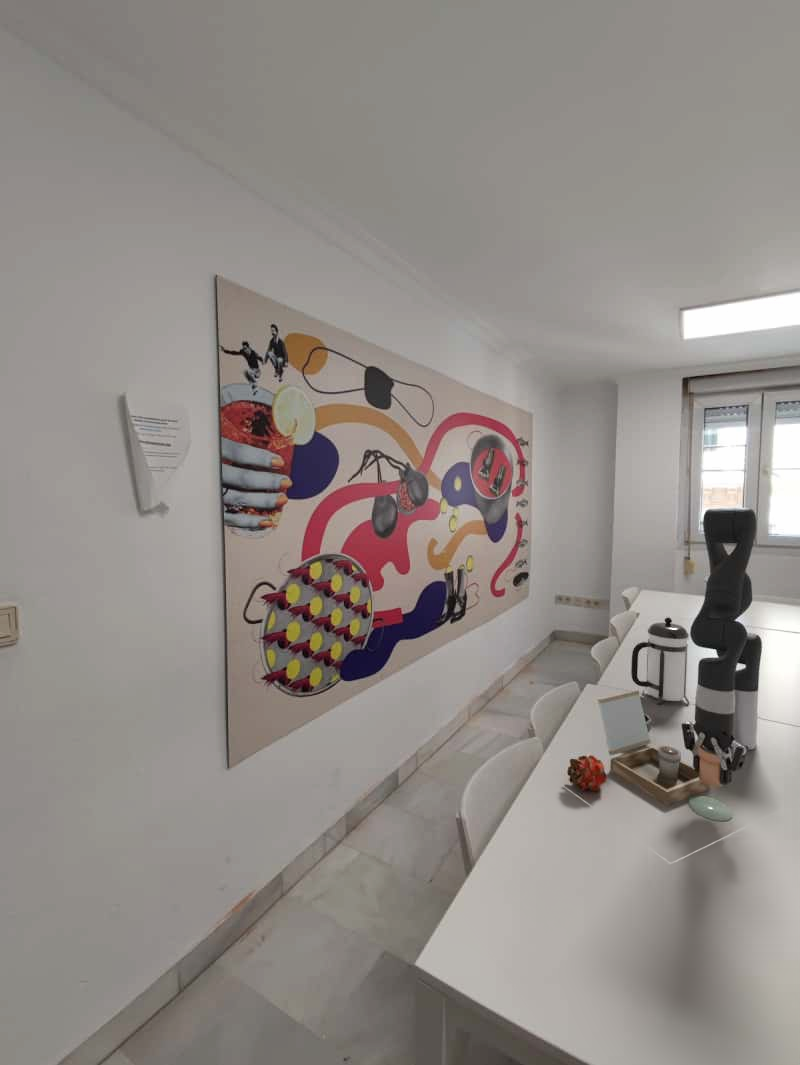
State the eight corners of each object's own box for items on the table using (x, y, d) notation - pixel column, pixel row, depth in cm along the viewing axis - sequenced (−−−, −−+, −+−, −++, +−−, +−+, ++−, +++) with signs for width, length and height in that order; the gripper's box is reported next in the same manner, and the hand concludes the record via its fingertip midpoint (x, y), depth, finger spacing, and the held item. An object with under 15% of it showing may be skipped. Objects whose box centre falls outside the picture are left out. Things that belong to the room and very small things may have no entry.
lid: (650, 742, 132) (648, 742, 133) (638, 690, 135) (636, 690, 136) (611, 755, 126) (609, 754, 126) (600, 699, 129) (597, 699, 130)
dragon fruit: (570, 802, 115) (593, 789, 124) (600, 794, 111) (622, 781, 119) (554, 765, 119) (577, 755, 128) (582, 755, 115) (604, 746, 123)
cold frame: (630, 747, 139) (632, 705, 138) (709, 789, 118) (711, 741, 118) (590, 759, 132) (591, 716, 131) (667, 806, 111) (669, 755, 111)
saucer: (703, 795, 116) (703, 792, 116) (740, 815, 108) (740, 812, 108) (680, 804, 112) (681, 801, 112) (717, 826, 105) (717, 823, 105)
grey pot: (665, 768, 127) (666, 743, 127) (684, 778, 123) (685, 752, 122) (652, 772, 125) (653, 747, 125) (671, 783, 120) (672, 757, 120)
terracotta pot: (706, 771, 114) (707, 741, 113) (732, 784, 109) (733, 752, 108) (690, 777, 111) (692, 746, 111) (716, 790, 106) (717, 758, 106)
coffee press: (648, 687, 184) (651, 610, 182) (695, 699, 172) (698, 617, 170) (629, 699, 172) (632, 617, 170) (678, 714, 161) (682, 626, 159)
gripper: (759, 714, 104) (755, 790, 105) (694, 691, 117) (691, 758, 118) (738, 721, 101) (734, 799, 102) (674, 696, 114) (671, 765, 115)
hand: (711, 777), depth 110 cm, fingers closed on terracotta pot, 5 cm apart
